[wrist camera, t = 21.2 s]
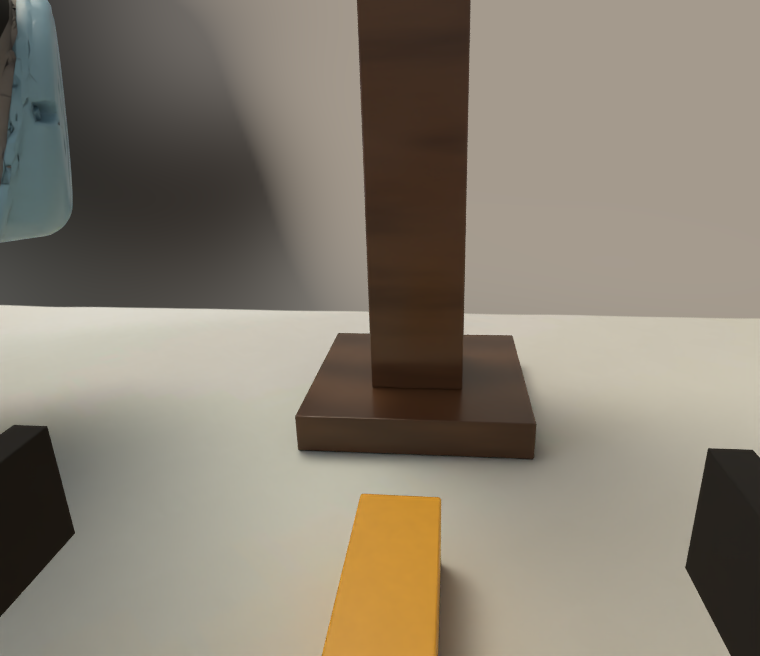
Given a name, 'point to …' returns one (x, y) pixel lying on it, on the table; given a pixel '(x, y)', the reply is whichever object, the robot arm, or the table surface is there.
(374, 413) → the stand
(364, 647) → the peg
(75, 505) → the table surface
